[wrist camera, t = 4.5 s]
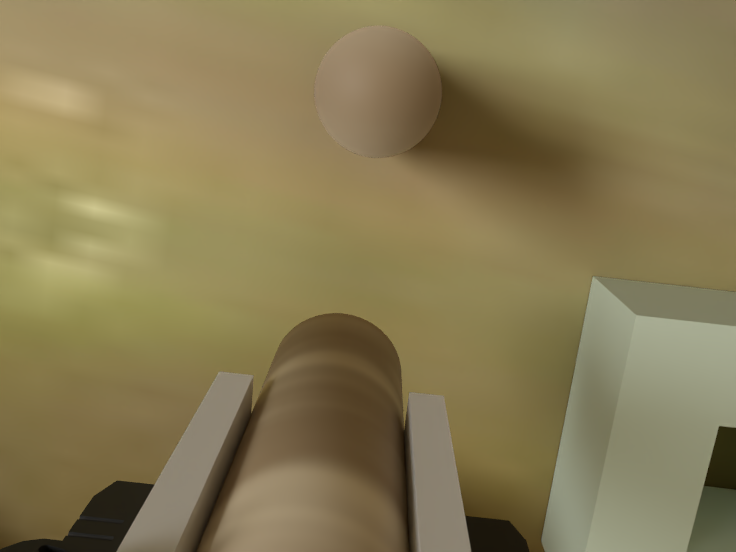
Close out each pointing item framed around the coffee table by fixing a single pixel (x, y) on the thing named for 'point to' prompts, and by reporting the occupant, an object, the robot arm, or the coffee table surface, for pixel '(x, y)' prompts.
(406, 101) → the pin short
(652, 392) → the collar block
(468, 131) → the coffee table surface
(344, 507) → the pin long
